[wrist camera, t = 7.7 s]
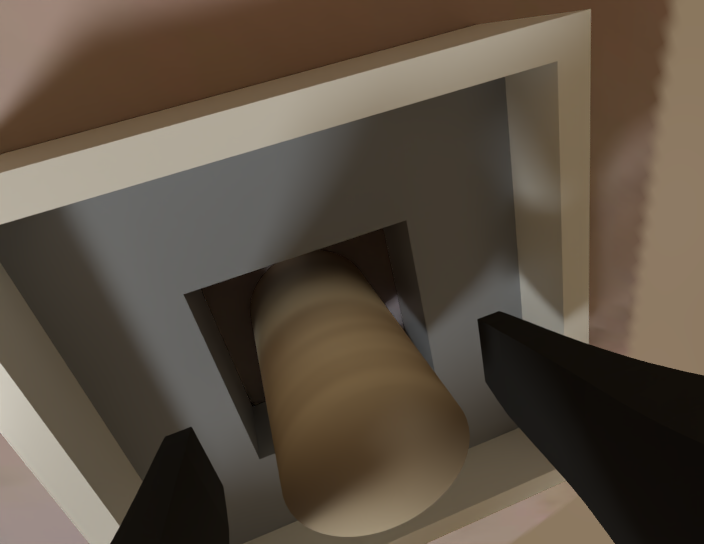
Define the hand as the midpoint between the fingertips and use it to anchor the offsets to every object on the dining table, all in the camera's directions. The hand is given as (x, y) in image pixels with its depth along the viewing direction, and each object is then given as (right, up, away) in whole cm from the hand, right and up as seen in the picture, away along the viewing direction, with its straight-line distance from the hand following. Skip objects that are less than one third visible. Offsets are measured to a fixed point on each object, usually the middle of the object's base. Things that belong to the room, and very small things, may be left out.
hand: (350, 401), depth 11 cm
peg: (-1, +2, +4) cm, 5 cm away
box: (-1, +2, +4) cm, 5 cm away
